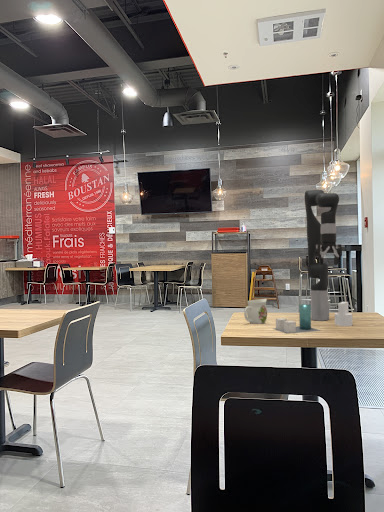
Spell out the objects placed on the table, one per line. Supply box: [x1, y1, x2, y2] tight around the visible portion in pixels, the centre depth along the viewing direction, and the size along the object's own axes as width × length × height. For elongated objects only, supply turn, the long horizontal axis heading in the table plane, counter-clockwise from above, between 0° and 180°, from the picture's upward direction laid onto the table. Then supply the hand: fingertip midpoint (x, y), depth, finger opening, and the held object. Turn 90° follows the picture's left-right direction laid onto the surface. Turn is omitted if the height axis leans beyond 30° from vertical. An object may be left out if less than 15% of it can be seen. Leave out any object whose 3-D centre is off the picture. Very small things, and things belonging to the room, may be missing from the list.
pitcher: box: [243, 298, 268, 325], centre depth 233 cm, size 11×18×14 cm, turn 131°
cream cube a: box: [284, 320, 297, 334], centre depth 205 cm, size 4×4×5 cm
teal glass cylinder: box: [298, 303, 312, 330], centre depth 212 cm, size 6×6×12 cm
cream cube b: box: [275, 317, 288, 331], centre depth 213 cm, size 4×4×5 cm
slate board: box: [272, 325, 321, 335], centre depth 211 cm, size 19×14×2 cm
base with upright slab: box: [334, 301, 353, 327], centre depth 230 cm, size 9×9×12 cm
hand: (328, 265), depth 214 cm, fingers open, 8 cm apart
